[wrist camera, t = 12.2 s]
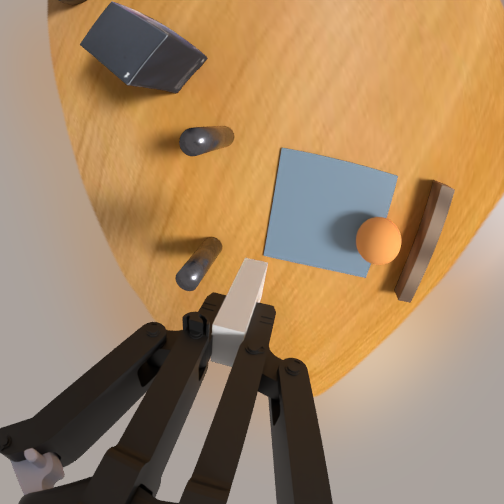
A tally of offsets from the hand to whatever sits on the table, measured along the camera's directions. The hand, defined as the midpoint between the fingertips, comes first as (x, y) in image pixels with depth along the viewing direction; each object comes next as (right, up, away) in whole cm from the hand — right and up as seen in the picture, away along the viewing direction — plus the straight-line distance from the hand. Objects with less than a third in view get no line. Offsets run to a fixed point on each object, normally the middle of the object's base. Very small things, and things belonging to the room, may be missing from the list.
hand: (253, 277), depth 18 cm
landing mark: (+9, +6, +14) cm, 17 cm away
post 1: (-3, +15, +12) cm, 20 cm away
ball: (+14, +3, +11) cm, 18 cm away
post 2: (-5, +3, +19) cm, 20 cm away
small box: (-11, +27, +8) cm, 30 cm away
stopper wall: (+22, +3, +12) cm, 25 cm away
